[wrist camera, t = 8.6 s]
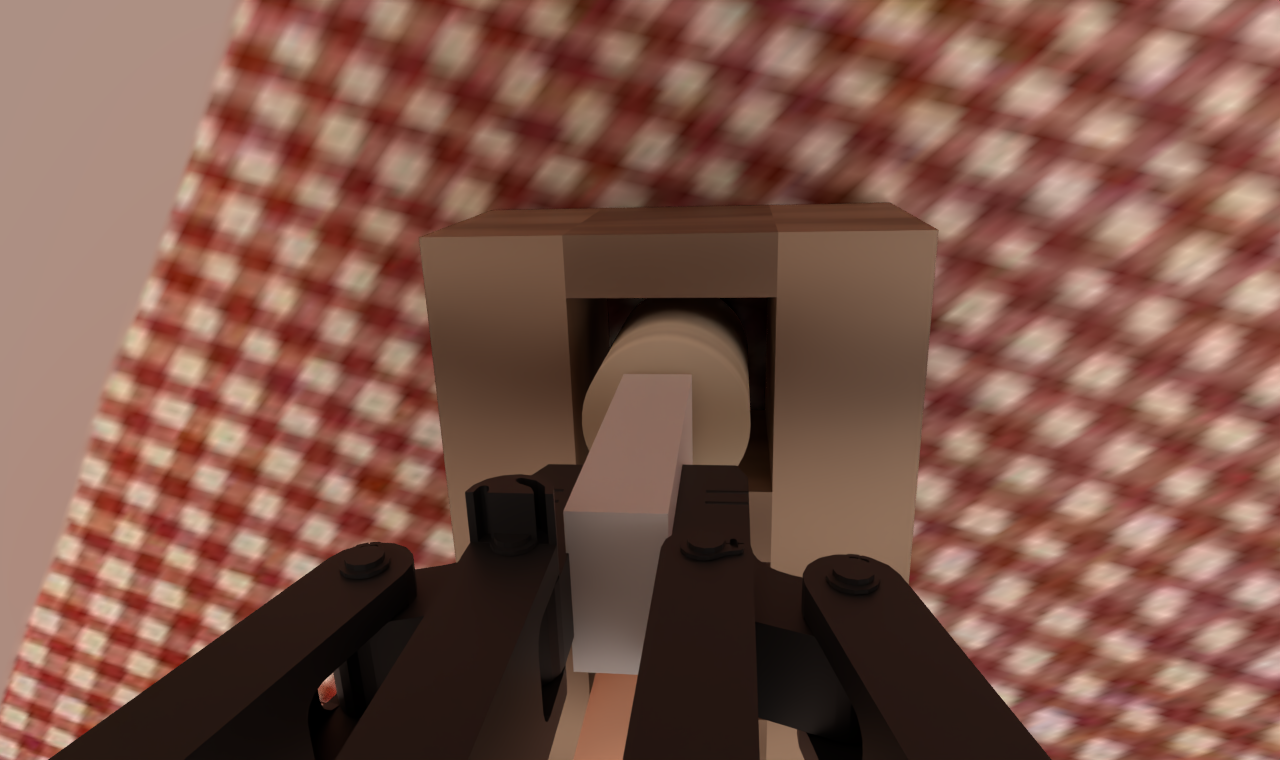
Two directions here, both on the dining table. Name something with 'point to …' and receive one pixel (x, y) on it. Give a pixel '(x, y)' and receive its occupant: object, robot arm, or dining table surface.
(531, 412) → the walnut socket block
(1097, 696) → the dining table surface
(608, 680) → the rust plug
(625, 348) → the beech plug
